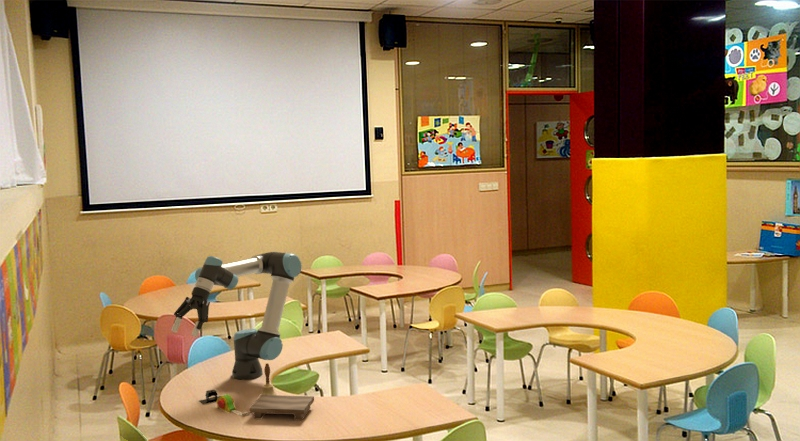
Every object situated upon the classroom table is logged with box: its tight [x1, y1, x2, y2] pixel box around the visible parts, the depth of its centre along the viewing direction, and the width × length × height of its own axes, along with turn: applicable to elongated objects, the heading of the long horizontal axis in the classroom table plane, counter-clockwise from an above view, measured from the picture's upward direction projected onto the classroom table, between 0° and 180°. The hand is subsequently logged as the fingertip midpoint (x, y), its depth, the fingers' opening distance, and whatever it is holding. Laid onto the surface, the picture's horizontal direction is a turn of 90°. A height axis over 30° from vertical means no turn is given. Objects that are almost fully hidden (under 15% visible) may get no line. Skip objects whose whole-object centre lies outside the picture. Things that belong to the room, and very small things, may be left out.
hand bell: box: [258, 363, 277, 398], centre depth 330 cm, size 8×8×16 cm
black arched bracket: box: [198, 389, 222, 405], centre depth 328 cm, size 13×8×5 cm, turn 124°
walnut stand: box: [249, 394, 315, 421], centre depth 310 cm, size 16×24×5 cm, turn 82°
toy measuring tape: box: [215, 393, 248, 417], centre depth 314 cm, size 6×20×7 cm, turn 51°
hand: (183, 334), depth 313 cm, fingers open, 13 cm apart
